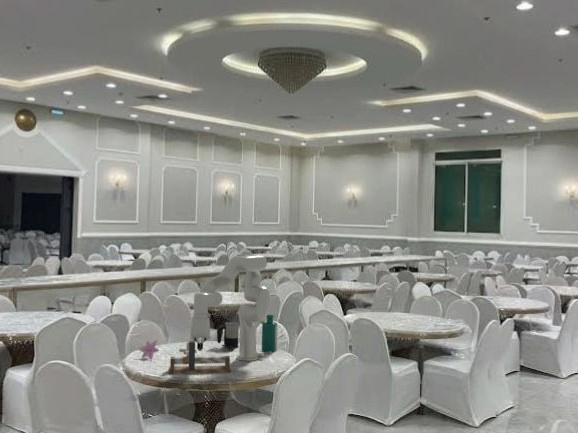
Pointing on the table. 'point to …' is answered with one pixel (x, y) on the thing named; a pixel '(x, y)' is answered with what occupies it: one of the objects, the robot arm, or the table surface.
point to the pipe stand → (200, 369)
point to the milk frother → (229, 335)
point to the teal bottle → (269, 335)
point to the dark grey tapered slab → (191, 355)
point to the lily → (149, 349)
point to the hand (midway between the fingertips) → (199, 350)
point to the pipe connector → (186, 350)
